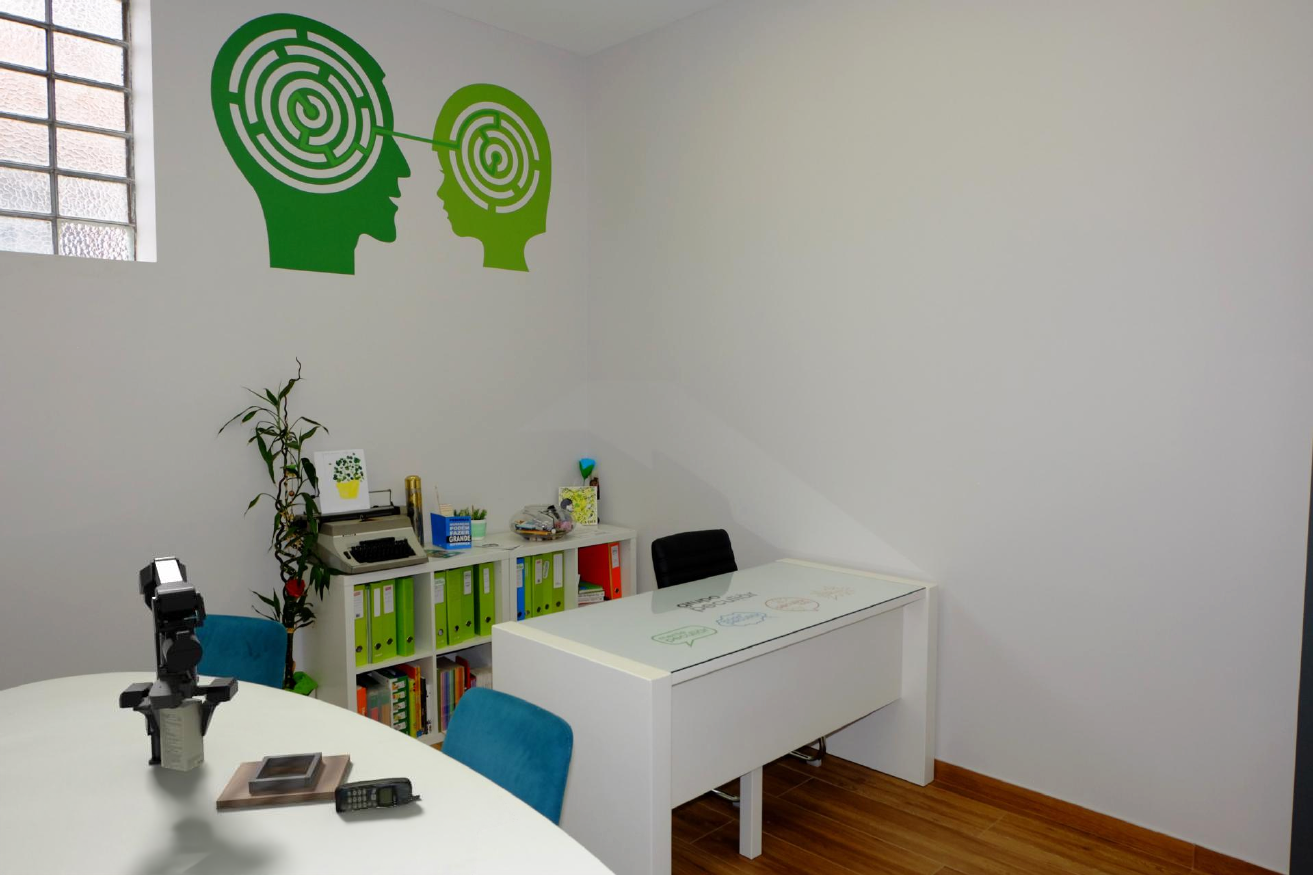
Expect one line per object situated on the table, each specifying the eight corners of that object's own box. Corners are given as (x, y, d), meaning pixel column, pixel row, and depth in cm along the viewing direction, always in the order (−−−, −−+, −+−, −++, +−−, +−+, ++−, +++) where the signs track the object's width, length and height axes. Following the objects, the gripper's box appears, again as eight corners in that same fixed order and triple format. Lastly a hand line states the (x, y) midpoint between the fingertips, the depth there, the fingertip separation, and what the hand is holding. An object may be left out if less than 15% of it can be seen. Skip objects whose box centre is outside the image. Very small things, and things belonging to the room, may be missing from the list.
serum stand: (216, 808, 159) (215, 790, 159) (242, 769, 175) (241, 752, 175) (335, 798, 163) (335, 781, 163) (350, 761, 179) (349, 744, 178)
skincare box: (205, 762, 161) (204, 699, 160) (185, 772, 157) (185, 707, 156) (178, 756, 163) (178, 694, 163) (159, 766, 159) (158, 702, 158)
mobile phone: (333, 789, 157) (418, 778, 161) (335, 782, 160) (419, 771, 164) (335, 816, 157) (419, 803, 161) (336, 807, 160) (420, 796, 164)
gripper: (103, 673, 149) (107, 760, 150) (218, 667, 153) (222, 752, 154) (130, 652, 160) (134, 733, 161) (237, 647, 163) (240, 726, 165)
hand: (182, 737), depth 160 cm, fingers closed on skincare box, 7 cm apart
